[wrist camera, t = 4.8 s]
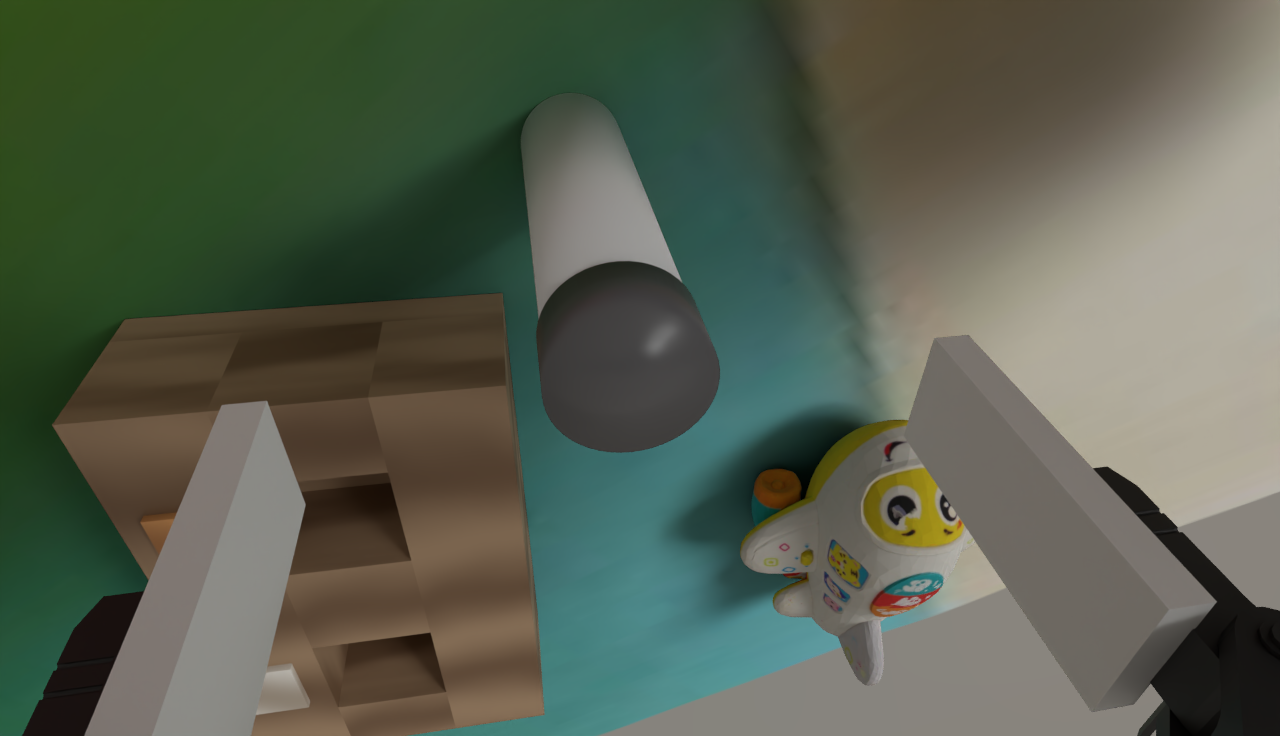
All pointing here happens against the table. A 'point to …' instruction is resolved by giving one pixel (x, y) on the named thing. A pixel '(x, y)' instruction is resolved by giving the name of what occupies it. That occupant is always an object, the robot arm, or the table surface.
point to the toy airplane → (856, 539)
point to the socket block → (346, 498)
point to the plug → (607, 289)
